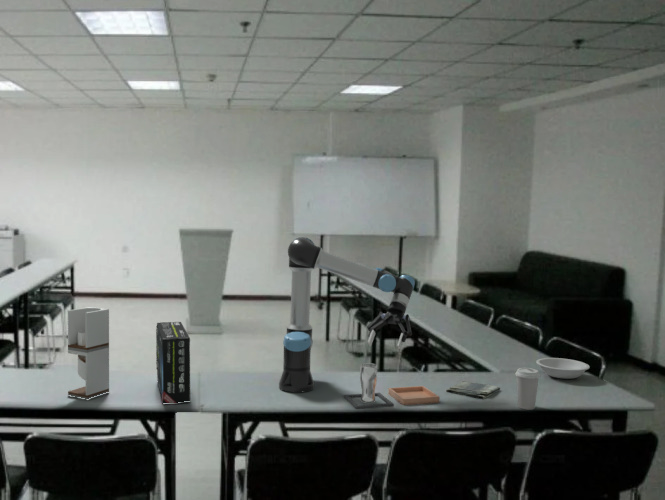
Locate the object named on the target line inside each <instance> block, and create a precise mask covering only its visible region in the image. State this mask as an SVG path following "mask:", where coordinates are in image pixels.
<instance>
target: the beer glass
mask: <svg viewBox="0 0 665 500" xmlns="http://www.w3.org/2000/svg"><path fill="white" fill-rule="evenodd" d="M359 371H360V372H359V379H360V381H359V383H360V389H361V394H362V396H361V397H360V402H361V403H362V404H366V405H369V404H376V396H375V393H376V386H377V383H378V382H377V381H378V365H377V364H376V363H371V362H365V363H361V364H360V370H359Z"/></svg>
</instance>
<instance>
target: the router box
mask: <svg viewBox="0 0 665 500" xmlns="http://www.w3.org/2000/svg"><path fill="white" fill-rule="evenodd" d="M155 333H156V334H155V335H156V336H155V340H156V343H155V344H156V345H155V346H156V347H155V348H156V350H155V351H156V353H155V354H156V358H155V359H156V362H155V364H156V370H157V371H156V375H157V376H156V379H157V381H158V382H157V386H158V385H159V386H158V390H159V394H161V395H160V399H161V398H162V399H161V403H162V402H163V403H178V402H184V401H190V402H191V350H190V347H191V338H190V336H189V334H188V332H187V330H186V329H185V326H184V325H183V323H182V321H168V322H161V321H160V322H157V323H156V328H155ZM163 403H162V404H163Z"/></svg>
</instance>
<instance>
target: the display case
mask: <svg viewBox="0 0 665 500" xmlns="http://www.w3.org/2000/svg"><path fill="white" fill-rule="evenodd" d="M67 354H72V355H77V374H78V376H79V377H80V378H81V379H82V380H84V381H85V386H83V387H82V386H81V387H78V388H75V389H71V390H69V391H67V396H68V395H71V396H75V397H81V398H85V399H89V398H91V397H94V396H97V395H100V394H103V393H106V392H109V393H110V309H109V308H101V307H95V306H88V307H82V308H75V309H70V310H67Z"/></svg>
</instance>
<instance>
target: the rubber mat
mask: <svg viewBox="0 0 665 500" xmlns="http://www.w3.org/2000/svg"><path fill="white" fill-rule="evenodd" d="M361 396H362V393H355V394H354V393H353V394H343V395H342V397H343V398H344V399H345V400H346V401H347V402H348V403H349V404H350V405H351V406H352V407H353V408H354V409H356V410H357V409H370V408H373V409H374V408H382V407H383V408H384V407H394V406H395V405H394V403H393V402H392V401H391V400H389V399H388V398H387V396H385V395H383V394H382V393H381V392H375V397H378V398H379V399H381V400H382V401H383V402H384V403H370V404H357V403H356V402H355V400H353V399H352V398H361ZM350 397H351V398H350Z"/></svg>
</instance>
